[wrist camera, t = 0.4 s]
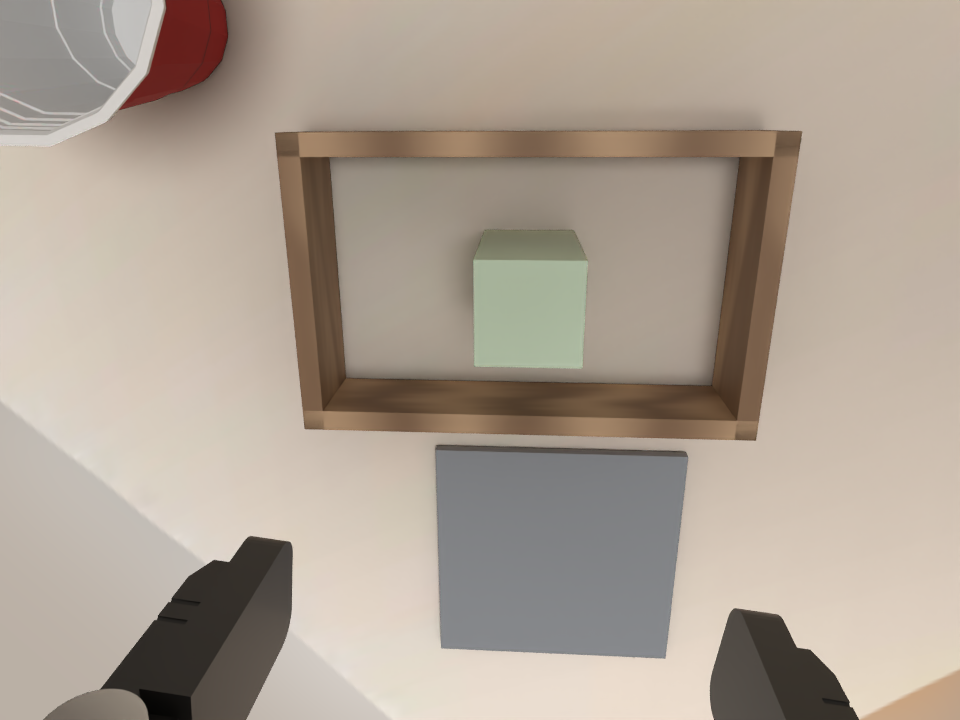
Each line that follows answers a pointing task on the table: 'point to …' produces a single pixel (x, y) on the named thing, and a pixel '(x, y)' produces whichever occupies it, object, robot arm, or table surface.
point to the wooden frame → (541, 404)
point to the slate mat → (558, 548)
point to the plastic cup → (98, 60)
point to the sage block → (529, 299)
